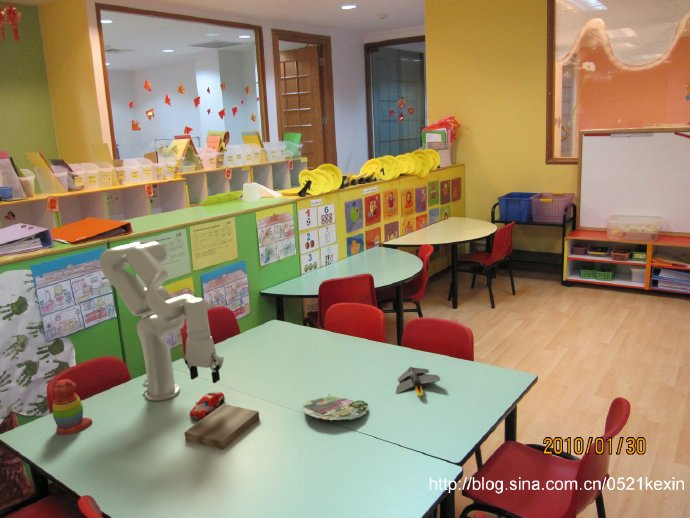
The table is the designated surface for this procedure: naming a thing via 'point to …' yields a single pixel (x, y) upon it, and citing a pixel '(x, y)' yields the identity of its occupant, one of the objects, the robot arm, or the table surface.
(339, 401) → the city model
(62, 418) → the stacking bear
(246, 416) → the walnut base
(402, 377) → the toy plane
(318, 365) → the table surface
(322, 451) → the table surface
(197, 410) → the race car
